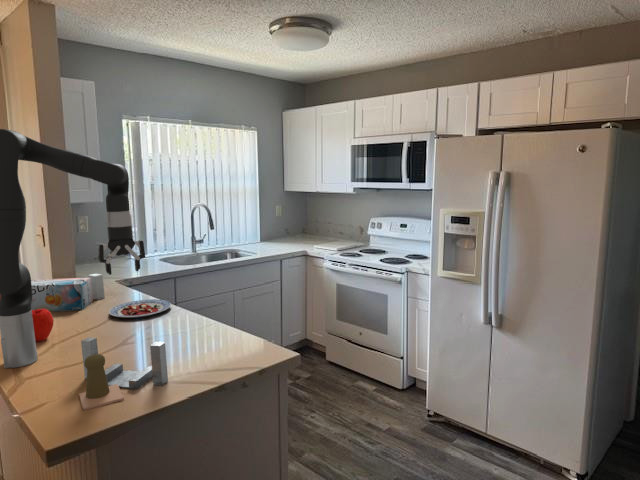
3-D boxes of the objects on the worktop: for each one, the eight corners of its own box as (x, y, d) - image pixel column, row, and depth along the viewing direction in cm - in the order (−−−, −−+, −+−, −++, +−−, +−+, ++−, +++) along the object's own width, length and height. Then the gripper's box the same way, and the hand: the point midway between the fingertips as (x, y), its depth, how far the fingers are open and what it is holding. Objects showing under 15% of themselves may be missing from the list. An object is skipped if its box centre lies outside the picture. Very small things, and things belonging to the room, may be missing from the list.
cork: (103, 386, 133) (100, 349, 132) (113, 392, 129) (110, 355, 128) (82, 394, 129) (78, 356, 127) (91, 400, 125) (87, 362, 123)
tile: (83, 410, 121) (83, 408, 121) (79, 395, 129) (79, 393, 129) (124, 399, 126) (123, 397, 126) (117, 385, 135) (117, 383, 135)
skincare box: (105, 297, 231) (103, 274, 229) (97, 300, 227) (94, 276, 225) (98, 296, 234) (95, 273, 232) (90, 298, 230) (87, 274, 228)
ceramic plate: (108, 325, 190) (108, 318, 189) (110, 308, 213) (109, 302, 213) (174, 316, 200) (173, 309, 199) (168, 301, 223) (168, 295, 223)
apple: (51, 333, 181) (47, 303, 179) (58, 339, 174) (55, 308, 172) (21, 340, 174) (17, 308, 172) (28, 346, 167) (24, 314, 165)
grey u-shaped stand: (99, 369, 146) (95, 333, 144) (174, 375, 141) (171, 338, 139) (76, 383, 137) (72, 345, 135) (155, 391, 131) (152, 350, 129)
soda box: (-14, 316, 206) (-18, 287, 204) (3, 307, 220) (0, 280, 218) (83, 310, 211) (80, 282, 209) (94, 302, 225) (91, 275, 223)
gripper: (97, 227, 147) (102, 277, 149) (144, 224, 154) (148, 271, 157) (94, 225, 153) (99, 273, 155) (139, 222, 160) (143, 267, 163)
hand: (123, 272), depth 156 cm, fingers open, 8 cm apart
